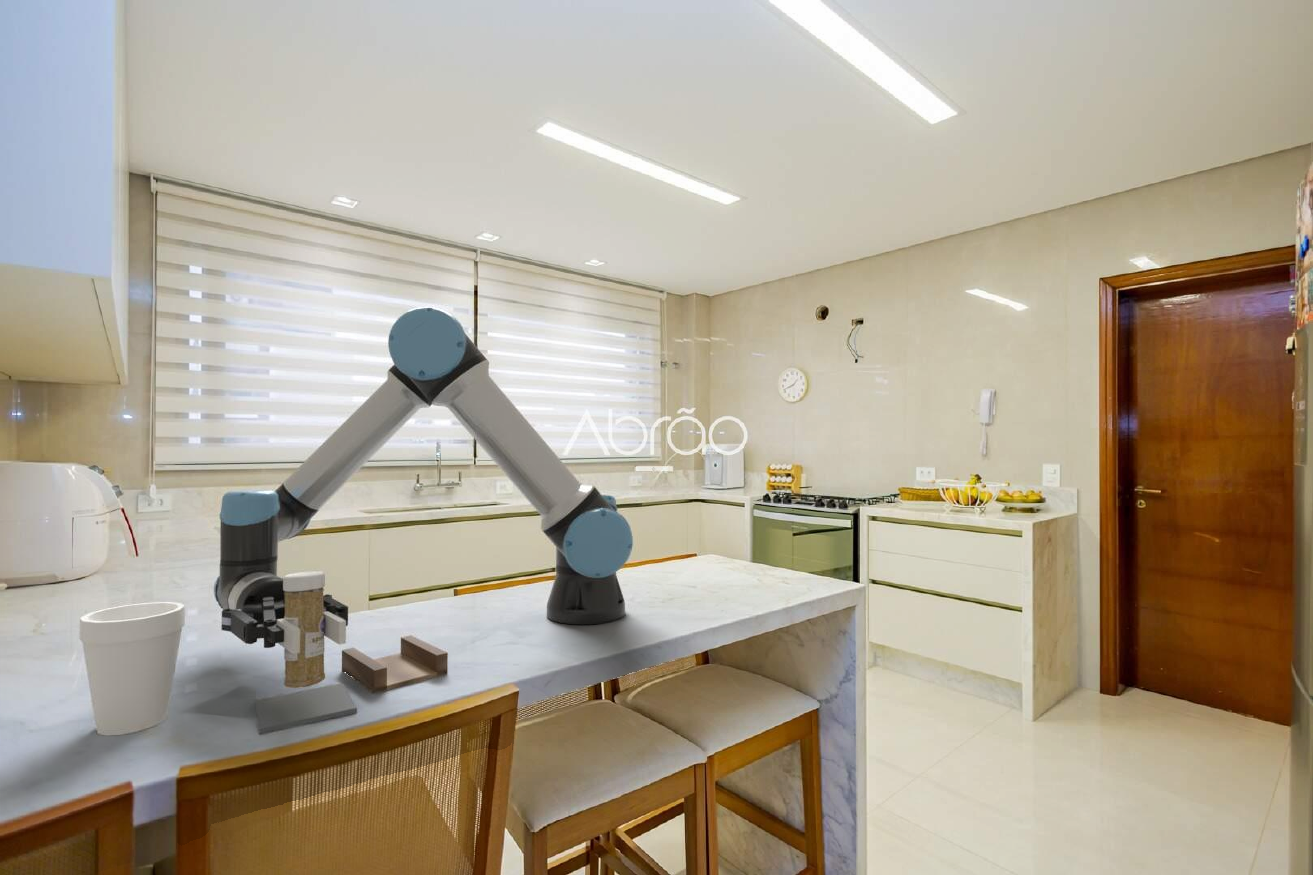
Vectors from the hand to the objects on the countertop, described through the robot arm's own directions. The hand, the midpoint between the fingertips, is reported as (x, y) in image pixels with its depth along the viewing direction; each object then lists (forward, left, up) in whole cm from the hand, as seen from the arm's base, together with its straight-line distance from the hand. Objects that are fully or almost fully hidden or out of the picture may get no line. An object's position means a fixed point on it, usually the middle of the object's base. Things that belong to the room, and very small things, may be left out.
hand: (319, 636), depth 74 cm
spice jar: (+1, -5, -7) cm, 9 cm away
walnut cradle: (-11, -12, -10) cm, 19 cm away
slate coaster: (+1, -5, -10) cm, 11 cm away
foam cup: (+18, -12, -10) cm, 24 cm away
